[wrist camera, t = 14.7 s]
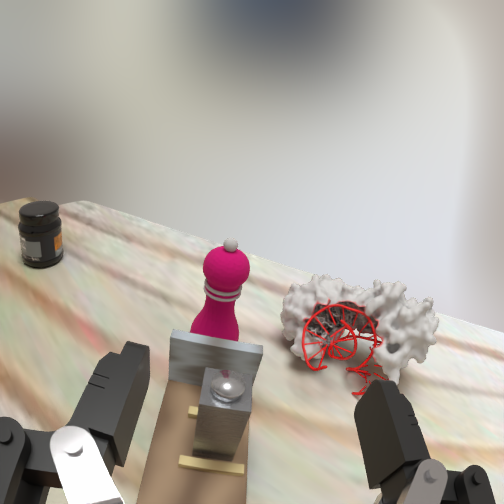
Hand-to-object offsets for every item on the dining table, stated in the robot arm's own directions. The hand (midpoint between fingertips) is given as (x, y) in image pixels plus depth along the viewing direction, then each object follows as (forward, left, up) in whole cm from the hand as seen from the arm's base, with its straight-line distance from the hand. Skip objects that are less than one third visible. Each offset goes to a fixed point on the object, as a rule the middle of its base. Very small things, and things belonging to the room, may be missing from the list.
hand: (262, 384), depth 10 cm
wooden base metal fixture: (-1, +10, -27) cm, 29 cm away
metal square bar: (0, +11, -25) cm, 27 cm away
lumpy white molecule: (+20, +29, -27) cm, 45 cm away
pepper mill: (-2, +28, -27) cm, 39 cm away
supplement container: (-44, +44, -27) cm, 68 cm away
